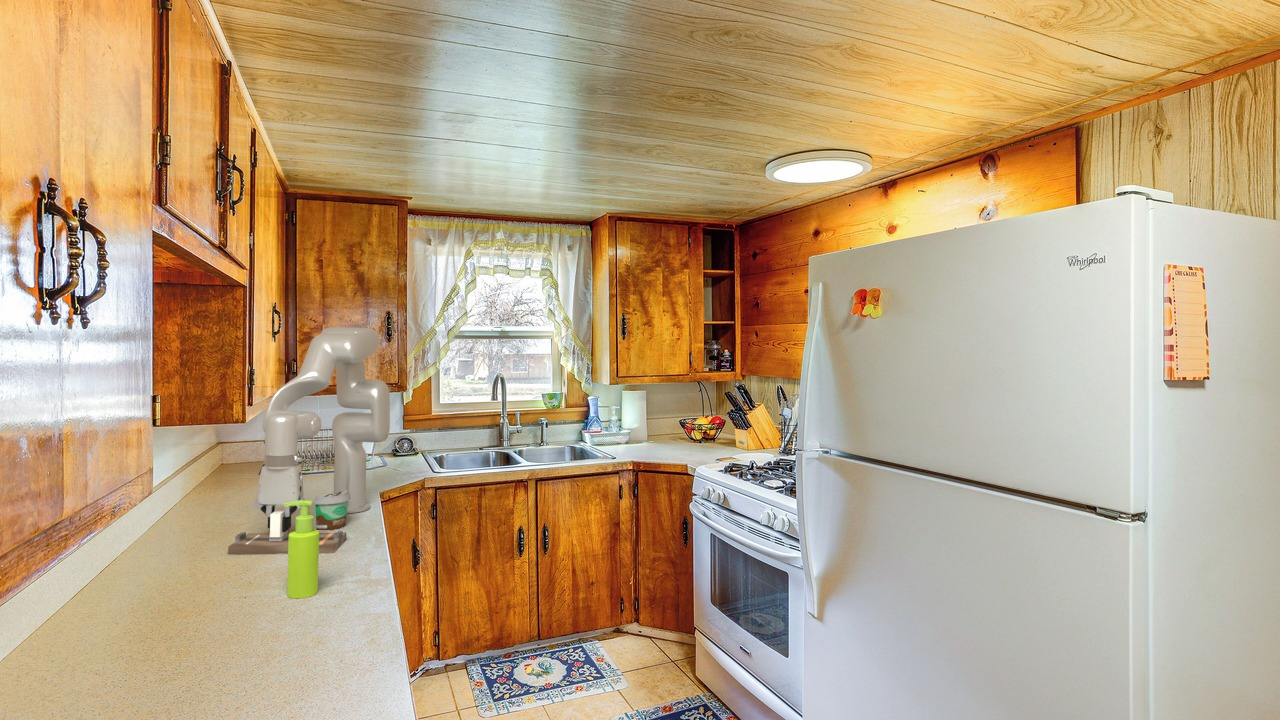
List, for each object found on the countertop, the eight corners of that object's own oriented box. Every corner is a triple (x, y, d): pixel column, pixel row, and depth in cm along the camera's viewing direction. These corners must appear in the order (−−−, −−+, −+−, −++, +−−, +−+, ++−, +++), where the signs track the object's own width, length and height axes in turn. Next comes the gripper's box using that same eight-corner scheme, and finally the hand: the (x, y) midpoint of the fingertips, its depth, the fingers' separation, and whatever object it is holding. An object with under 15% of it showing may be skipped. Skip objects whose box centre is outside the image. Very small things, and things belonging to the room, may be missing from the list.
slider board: (247, 540, 179) (248, 528, 179) (346, 539, 183) (346, 526, 183) (228, 554, 167) (228, 540, 167) (333, 552, 171) (334, 539, 171)
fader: (277, 535, 177) (277, 508, 177) (289, 535, 178) (289, 508, 178) (268, 541, 171) (269, 514, 171) (280, 541, 172) (281, 514, 172)
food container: (332, 533, 188) (333, 498, 188) (312, 531, 189) (313, 497, 189) (358, 523, 200) (359, 490, 200) (340, 521, 201) (341, 488, 201)
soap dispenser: (282, 590, 144) (285, 499, 144) (318, 587, 147) (320, 497, 146) (280, 600, 139) (282, 505, 138) (316, 596, 141) (319, 503, 141)
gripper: (318, 459, 179) (316, 526, 179) (253, 458, 177) (252, 527, 177) (309, 463, 172) (307, 534, 172) (241, 463, 169) (239, 535, 169)
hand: (279, 530), depth 174 cm, fingers closed on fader, 2 cm apart
